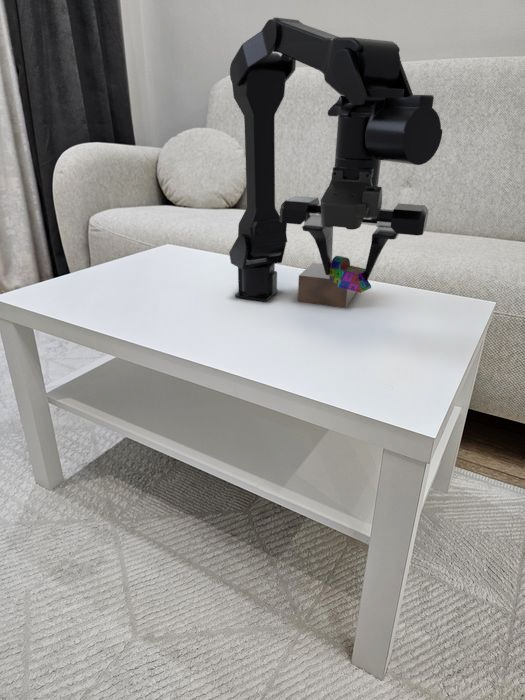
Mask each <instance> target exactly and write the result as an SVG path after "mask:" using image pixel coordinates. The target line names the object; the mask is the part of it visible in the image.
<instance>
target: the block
mask: <svg viewBox="0 0 525 700" xmlns="http://www.w3.org/2000/svg"><path fill="white" fill-rule="evenodd" d="M365 269H366V268H364V267H360V266H355V265H351V260H350V259H349V258H348V257H345V256H341V255H335V256H334V257H332V262H331V267H330V277H329V281H331V282H335V283H338V287H340V288H344V289H348V290H352V291H355V292H356V293H359V294H361V293H363V292H366V291H368V290H370V289H372V285H371V283H370V282H369V279H368V280H365Z"/></svg>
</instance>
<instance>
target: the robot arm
mask: <svg viewBox="0 0 525 700" xmlns="http://www.w3.org/2000/svg"><path fill="white" fill-rule="evenodd" d="M280 54H281V55H280ZM296 61H297V62H300V63H302V64H303V65H306V66H308V67H310V68H313V69H315V70H317V71H319V72H321V73H322V74H323V77H324V78H323V79H324V81H325V83H326V85H328V86H329V87H330V88H331V89H333V90H334V91H335V92H336V93H337V94H339V97H338V99H337V101H336V102H335V103H334V104H333V105H331V106H330V107H329V109H328V110H327V116H328V117H335V118H337V126H336V140H335V153H334V154H335V155H334V166H333V167H332V173H331V179H330V182H329V184H328V187H327V188H326V189H325V192H324V193H323V195H322V197H321V198H320V200H319V197H314V196H300V195H294V196H292V197H290V198H288V199H285V200H284V201H283V202H282V203H281V205H280V208H279V212H278V210H277V208H276V142H275V139H276V137H275V136H276V135H275V134H276V133H275V131H276V130H275V125H276V124H275V123H276V122H275V118H276V113H277V112H278V109H279V108H280V106H281V104H282V102H283V100H284V97H285V93H286V92H285V91H286V83H287V81H288V80H289V79H290V78H291V77H292V76H293V74H294V73H295V71H296V65H297V63H296ZM229 78H230V81H231V85H232V92H233V93H232V94H233V99H234V101H235V102H236V105H237V106H238V108H239V110H240V111H241V113H242V115H243V119H244V121H243V122H244V152H245V157H244V158H245V184H246V185H245V186H246V187H245V188H246V209H245V211H244V213H243V215H242V217H241V219H240V220H239V222H238V231H237V238H236V239H235V241H234V243H233V244H232V246H231V248H230V249H229V252H228V254H229V255H228V256H229V260H230V264H231V265H233V266H235V267H237V284H238V285H237V287H238V291H237V292H236V293H235V294H234V298H238V299H245V300H253V301H260V302H268V300H270V299H271V298H272V297H273V296H274V295H275V294H276V293H278V272H277V270H275V267H276V266H275V265H276V264H282V262H283V258H284V255H285V251H286V246H287V243H288V238H287V227H288V224H289V225H290V224H292V225H302V224H303V226H302V227H301V228H302V231H304V232H307V233H309V234H310V236H311V237H312V238H313V240H314V242H315V244H316V247H317V249H318V252H319V255H320V260H321V264H323V267H324V270H325V274H326V275H329V274H330V267H331V262H332V260H333V242H334V241H333V240H334V227H335V228H345V229H346V230H349V231H351V230H354V231H355V230H357V229H360V228H361V226H362V224H364V223H365V224H375V225H376V229H375V231H374V232H372V235H371V243H370V248H369V252H368V257H367V261H366V265H365V268H364V269H365V280H368V281H369V278H370V277H371V275H372V272H373V270H374V268H375V265H376V264H377V262H378V259H379V257H380V255H381V253H382V251H383V249H384V247H385V245H386V244H387V242H388V241H389V240H396V239H397V238H398V236H399V235H406V236H423V235H424V232H425V230H426V228H427V223H428V218H429V209H428V208H427V206H426V205H425V204H411V203H398V204H396V206H395V207H394V208H393V209H388V208H387V209H386V208H382V205H383V188H382V186H379V181H380V172H381V162H382V161H383V162H391V163H396V164H397V163H398V164H407V165H413V166H414V165H415V166H422V165H424V164H426V163H428V162H429V161H430V160H432V158H433V157H434V156H435V154H436V153H437V151H438V149H439V147H440V145H441V141H442V137H443V129H442V123H441V119H440V116H439V114H438V112H437V111H436V109H434V108H433V106H434V101H435V97H434V95H433V94H413V90H412V88H411V86H410V82H409V80H408V77H407V75H406V71H405V68H404V66H403V63H402V61H401V56H400V47H399V46H398V44H397V43H395V42H394V41H391V40H381V39H371V38H363V37H362V38H361V37H351V36H350V37H349V36H347V37H346V36H344V37H343V36H338V35H335V34H333V33H329V32H327V31H324V30H321V29H318V28H315V27H313V26H310V25H307V24H304V23H303V22H301V21H300V20H299V19H294V18H293V19H292V18H284V17H273V18H271V19H268V20H267V21H266V23H265V24H264V26H263V27H262V29H261V30H260V31H259V32H258V33H256V34H255V35H253V36H252V37H250V38H249V39H247V40H246V41H245V42H243V43H242V44H241V45H240V47H239V49H237V52H236V54H235V55H234V57H233V59H232V60H231V63H230V67H229Z"/></svg>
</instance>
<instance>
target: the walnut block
mask: <svg viewBox="0 0 525 700" xmlns="http://www.w3.org/2000/svg"><path fill="white" fill-rule="evenodd" d="M329 277H330V274H329V275H326V274H325V270H324V267H323V263H319V262H312V263H310V264H309V266H307V267H306V268H305V269H304V270H303V271H302V272H301V273H300V274H299V275H298V285H297V287H298V289H297V302H300V303H307V304H308V303H309V304H315V305H323V306H330V307H337V308H345V309H346V308H347V306H348V305H349V303H350V301H351V300H352V298H353V297H354V296H355V294H356V293H357V292H355V291H352V290H348V289H344V288H340V287H338V283H335V282H331V281H329Z"/></svg>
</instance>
